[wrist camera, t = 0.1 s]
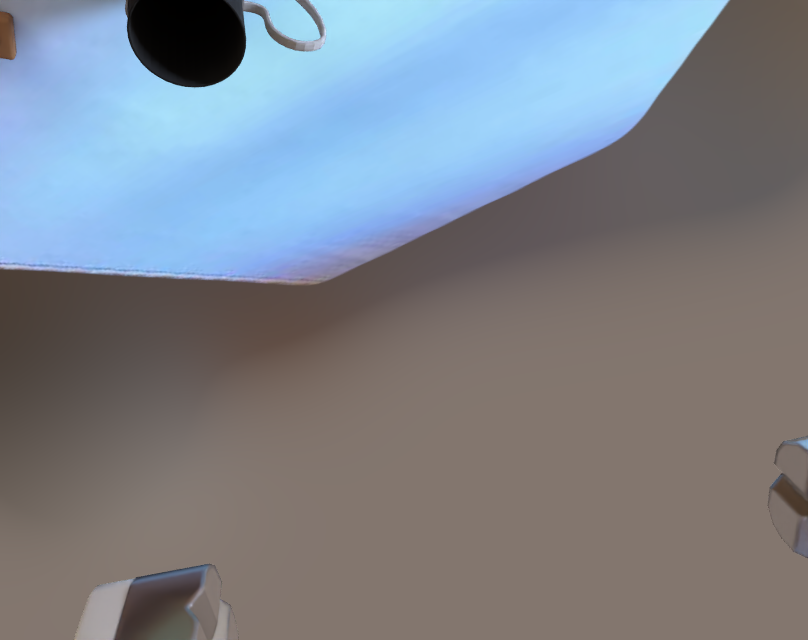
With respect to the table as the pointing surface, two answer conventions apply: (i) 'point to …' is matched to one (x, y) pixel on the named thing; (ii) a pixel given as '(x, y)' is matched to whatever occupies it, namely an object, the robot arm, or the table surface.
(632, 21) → the table surface
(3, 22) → the boxer figurine
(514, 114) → the table surface
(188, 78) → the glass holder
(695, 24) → the table surface
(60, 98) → the table surface
